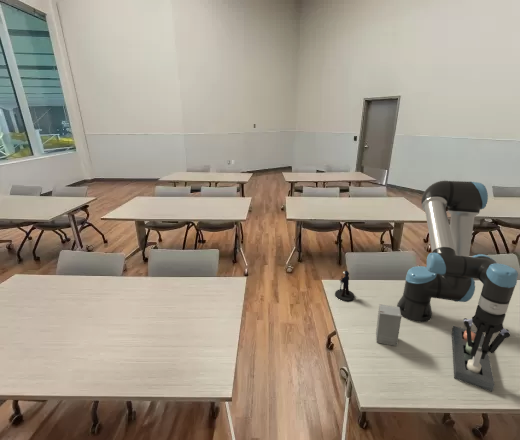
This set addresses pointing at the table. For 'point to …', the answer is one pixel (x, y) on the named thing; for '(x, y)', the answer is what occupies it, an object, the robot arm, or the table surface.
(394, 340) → the skincare box
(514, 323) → the table surface
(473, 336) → the coral button
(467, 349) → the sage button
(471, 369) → the white glossy ball
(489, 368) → the panel
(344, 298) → the figurine
